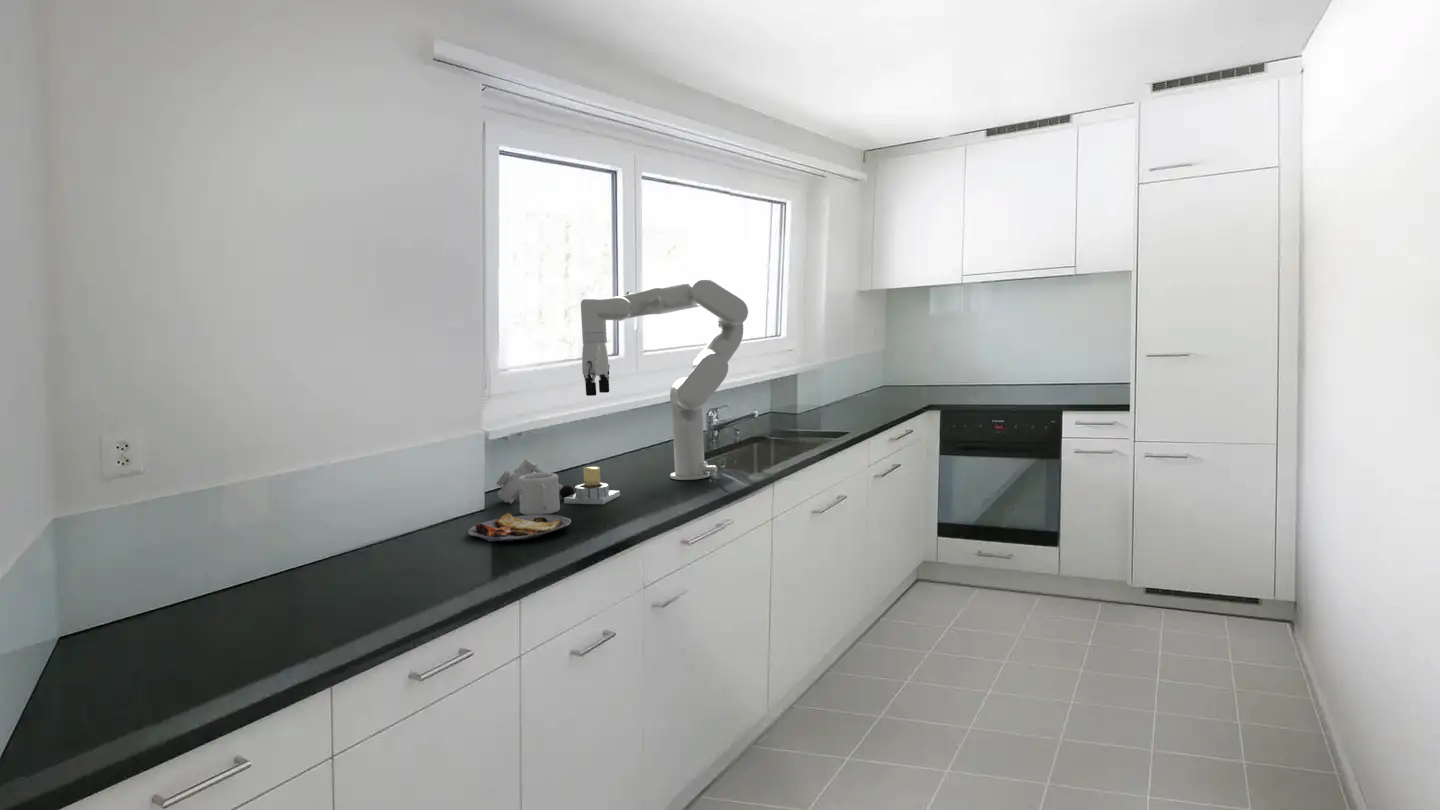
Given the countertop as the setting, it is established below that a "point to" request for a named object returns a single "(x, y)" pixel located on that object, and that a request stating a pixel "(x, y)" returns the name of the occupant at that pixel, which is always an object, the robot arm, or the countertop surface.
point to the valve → (512, 486)
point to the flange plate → (592, 500)
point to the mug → (538, 493)
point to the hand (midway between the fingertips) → (597, 393)
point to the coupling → (591, 477)
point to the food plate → (518, 527)
